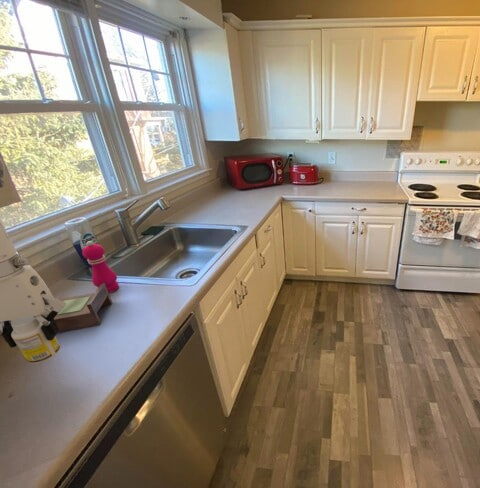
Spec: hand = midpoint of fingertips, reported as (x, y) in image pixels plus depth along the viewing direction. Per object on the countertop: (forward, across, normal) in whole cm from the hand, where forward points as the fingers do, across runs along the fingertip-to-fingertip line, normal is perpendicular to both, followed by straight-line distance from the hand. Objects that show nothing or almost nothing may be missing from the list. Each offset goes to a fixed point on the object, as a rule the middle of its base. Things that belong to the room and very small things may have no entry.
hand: (35, 338), depth 61 cm
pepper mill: (+17, +4, -46) cm, 49 cm away
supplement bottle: (+5, 0, 0) cm, 5 cm away
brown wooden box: (+17, +7, -30) cm, 35 cm away
